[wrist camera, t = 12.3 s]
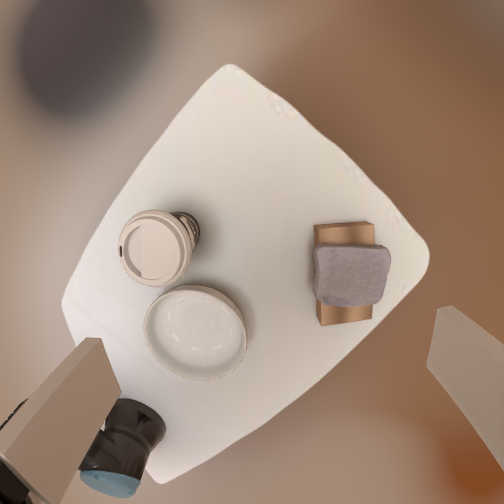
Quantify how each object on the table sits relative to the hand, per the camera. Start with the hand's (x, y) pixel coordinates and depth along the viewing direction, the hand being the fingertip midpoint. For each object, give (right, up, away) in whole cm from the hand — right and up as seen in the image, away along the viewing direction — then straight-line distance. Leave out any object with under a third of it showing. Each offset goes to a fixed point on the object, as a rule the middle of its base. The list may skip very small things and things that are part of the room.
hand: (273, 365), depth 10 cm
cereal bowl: (-10, -8, +40) cm, 42 cm away
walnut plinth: (+14, +1, +37) cm, 40 cm away
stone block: (+14, +1, +33) cm, 36 cm away
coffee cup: (-12, +7, +36) cm, 39 cm away
